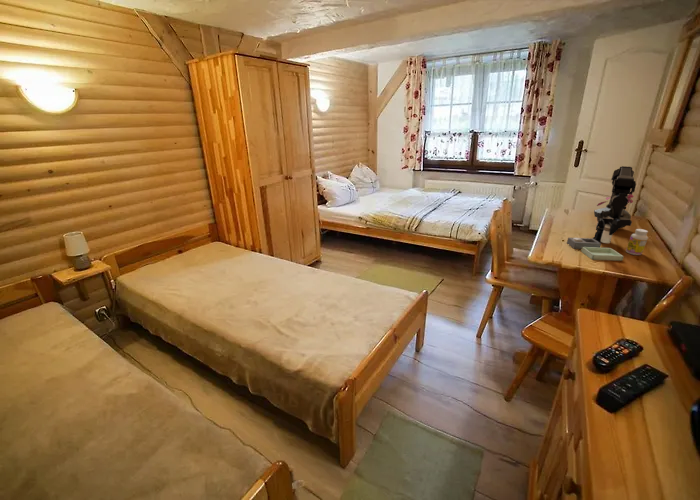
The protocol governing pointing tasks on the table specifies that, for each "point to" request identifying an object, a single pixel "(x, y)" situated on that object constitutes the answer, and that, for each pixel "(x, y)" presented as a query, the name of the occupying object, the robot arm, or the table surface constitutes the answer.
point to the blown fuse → (606, 234)
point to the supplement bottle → (637, 242)
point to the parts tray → (602, 253)
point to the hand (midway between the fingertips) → (607, 233)
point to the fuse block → (583, 243)
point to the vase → (625, 213)
